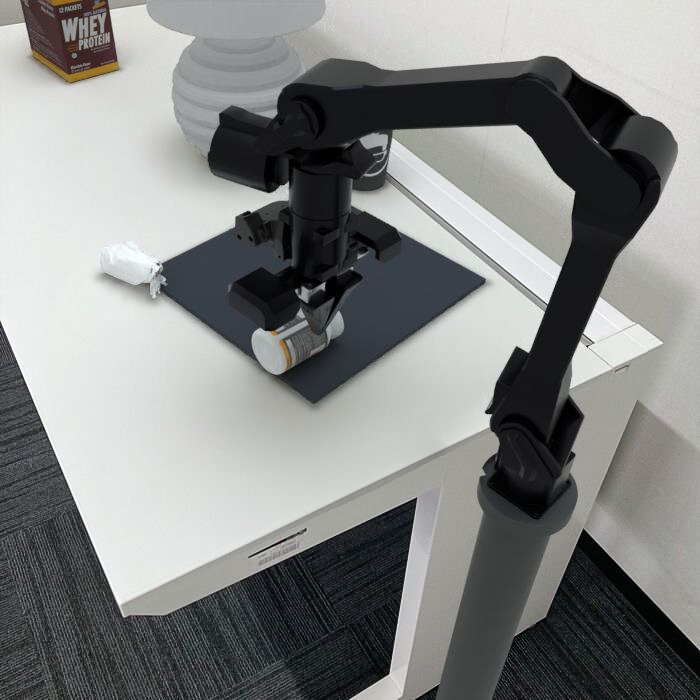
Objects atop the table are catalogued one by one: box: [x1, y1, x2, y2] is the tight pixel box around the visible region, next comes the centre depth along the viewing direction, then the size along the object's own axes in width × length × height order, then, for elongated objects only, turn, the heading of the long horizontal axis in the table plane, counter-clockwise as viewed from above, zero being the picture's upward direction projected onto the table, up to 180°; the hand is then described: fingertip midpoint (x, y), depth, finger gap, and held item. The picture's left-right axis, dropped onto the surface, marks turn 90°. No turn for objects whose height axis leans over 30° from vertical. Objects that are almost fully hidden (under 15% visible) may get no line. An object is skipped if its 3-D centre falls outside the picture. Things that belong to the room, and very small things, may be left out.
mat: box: [159, 199, 487, 404], centre depth 104 cm, size 32×32×1 cm
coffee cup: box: [347, 130, 395, 192], centre depth 119 cm, size 10×10×15 cm
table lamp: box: [145, 0, 327, 158], centre depth 115 cm, size 25×25×40 cm
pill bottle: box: [252, 308, 344, 376], centre depth 91 cm, size 6×6×10 cm
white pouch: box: [99, 240, 167, 299], centre depth 100 cm, size 5×7×10 cm
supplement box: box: [19, 0, 120, 83], centre depth 146 cm, size 10×15×16 cm
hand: (317, 332), depth 83 cm, fingers closed
